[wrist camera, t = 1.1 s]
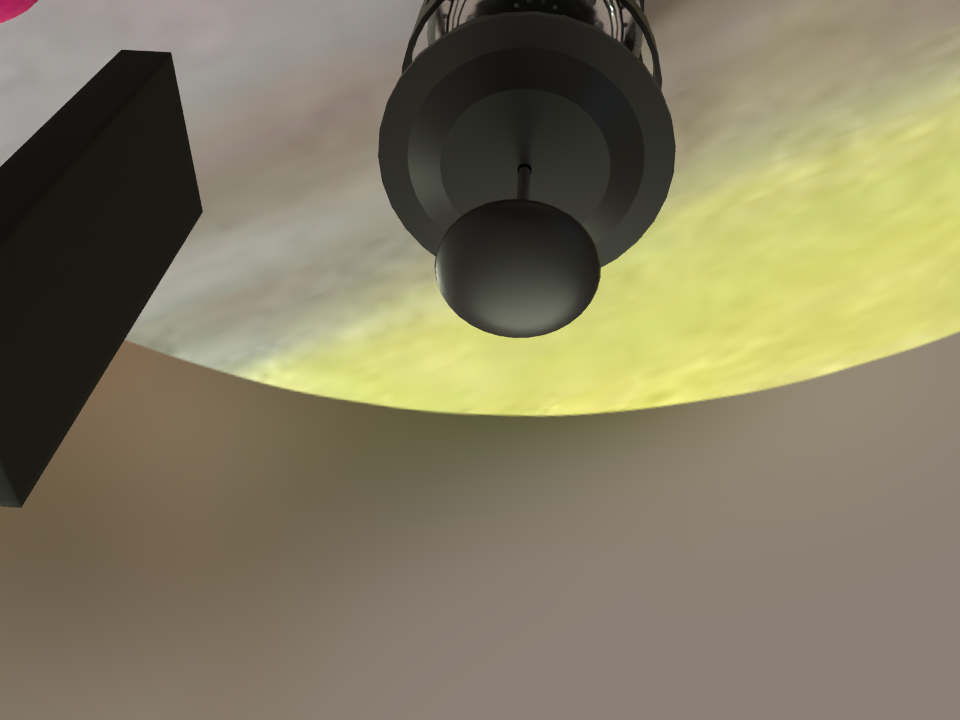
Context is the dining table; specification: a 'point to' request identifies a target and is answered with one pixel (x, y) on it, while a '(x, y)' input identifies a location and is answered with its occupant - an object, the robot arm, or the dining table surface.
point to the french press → (527, 152)
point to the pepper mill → (14, 8)
